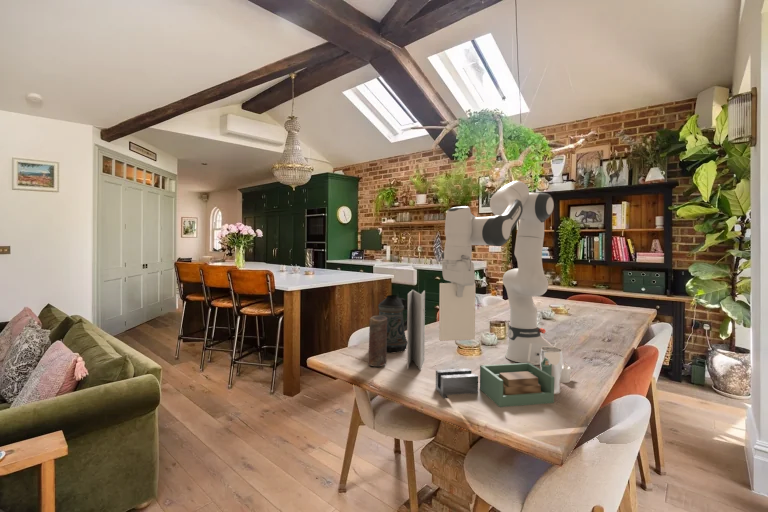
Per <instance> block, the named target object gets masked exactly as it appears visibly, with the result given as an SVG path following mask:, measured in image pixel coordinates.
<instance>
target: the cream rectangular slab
mask: <svg viewBox="0 0 768 512" xmlns="http://www.w3.org/2000/svg"><path fill="white" fill-rule="evenodd" d="M476 290H477V289H476V282H475V283H474V285H473V286H465V287H464V290H463V296H462V297H457V296H456V291H457V283H451V282H444V283H443V282H440V283H439V301H438V302H439V308H438V309H439V314H438V315H439V322H438V323H439V325H438V328H439V329H438V339H439V341H440V342H445V341H446V342H447V341H466V340H467V341H468V340H472V341H473V340H475V339H476Z"/></svg>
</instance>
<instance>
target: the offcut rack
mask: <svg viewBox="0 0 768 512" xmlns="http://www.w3.org/2000/svg"><path fill="white" fill-rule="evenodd" d="M524 371H528V372H530V373H531V374H533V375H534V376H536V377H538V384H540V385H541V391H542V392H544V393H530V394H516V395H503V380H502V379H501V378H499V373H507V372H524ZM479 374H480V375H479V390H480V391H481V392H483V393H484V394H485V396H487V397H488V398H489V399H490V400H492V401H493V402H494V403H495V404H496V405H497V406H498V407H499V408H504V407H505V408H506V407H516V406H518V407H519V406H533V405H542V404H554V403H555V394H554V377H553V376H551V375H550V374H548V373H546V372H544V371H543V370H541V368H540V367H537V365H532V364H530V363H520V362H516V363H501V364H483V365H481V364H480V365H479Z"/></svg>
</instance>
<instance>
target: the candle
mask: <svg viewBox="0 0 768 512" xmlns="http://www.w3.org/2000/svg"><path fill="white" fill-rule="evenodd" d="M368 332H369V333H368V334H369V335H368V336H369V337H368V358H367V359H368V360H367V361H368V365H369V366H371V367H375V368H378V367H383V365H386V364H387V353H386V352H387V317H385V316H382V315H380V316H379V315H372V316H371V317H370V318H369V330H368Z"/></svg>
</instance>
